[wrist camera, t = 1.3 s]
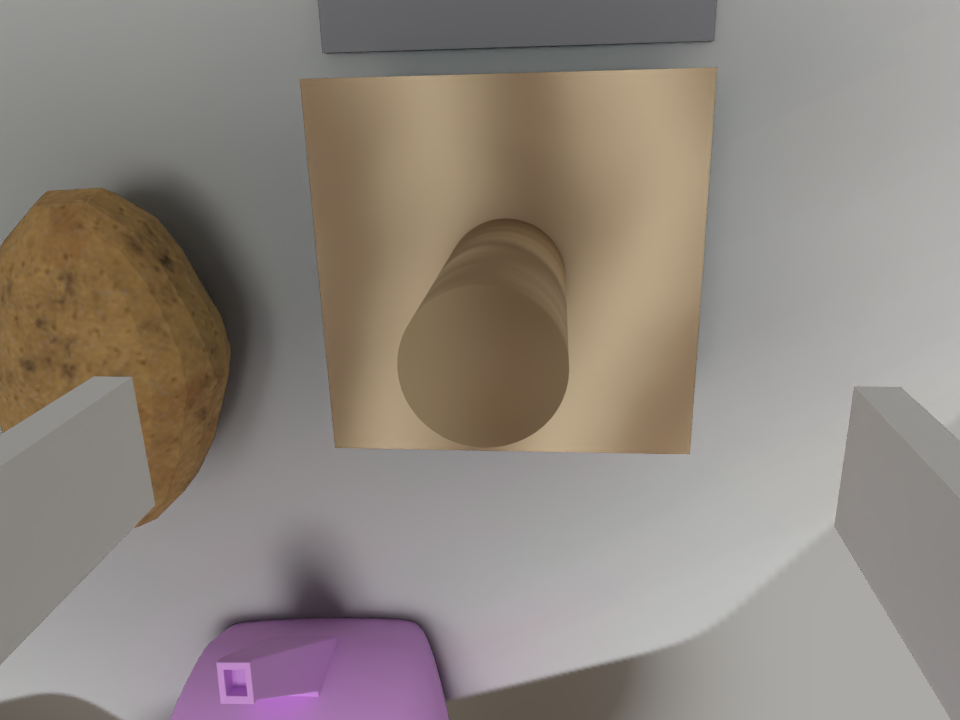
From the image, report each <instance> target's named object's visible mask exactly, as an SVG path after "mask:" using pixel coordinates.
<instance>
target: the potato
mask: <svg viewBox="0 0 960 720" xmlns="http://www.w3.org/2000/svg"><path fill="white" fill-rule="evenodd" d="M230 354H231V347H230V344H229V340H228V337H227V333H226V330H225V327H224V323H223V320H222V317H221V315H220V313H219V311H218V310H217V308H216V306H215V305H214V303H213V301H212V300H211V298H210V296H209V295H208V293H207V292H206V290H205V288H204V287H203V285H202V283H201V282H200V280H199V278H198V276H197V274H196V273H195V271H194V269H193V267H192V266H191V264H190V262H189V260H188V259H187V257H186V255H185V253H184V251H183V250H182V248H181V247H180V246H179V245H178V243H177V242H176V241H175V240H174V239H173V237H172V236H171V235H170V234H169V232H168V231H167V230H166V229H165V228H164V226H163V225H162V224H161V223H160V221H159V220H158V219H157V218H156V217H155V216H153V215H151V214H150V213H148V212H146V211H145V210H143V209H141V208H140V207H138V206H136V205H134V204H133V203H131V202H129V201H128V200H126V199H124V198H123V197H121V196H119V195H118V194H115V193H113V192H110V191H108V190H105V189H103V188H92V189H74V190H57V191H47V192H46V193H45V194H44V195H43V196H42V197H41V198H40V199H39V200H38V201H37V202H36V203H35V204H34V205H33V207H32V208H31V209H30V210H29V211H28V213H27V214H26V215H25V216H24V217H23V219H22V220H21V221H20V222H19V224H18V225H17V226H16V227H15V228H14V230H13V231H12V232H11V233H10V234H9V236H8V237H7V238H6V239H5V240H4V242H3V243H2V245H1V249H0V425H1V429H2V432H3V433H4V432H6V431H7V430H9V429H10V428H12V427H14V426H15V425H17V424H18V423H20V422H22V421H23V420H25V419H26V418H28V417H30V416H31V415H33V414H34V413H36V412H38V411H39V410H41V409H42V408H44V407H46V406H47V405H49V404H50V403H52V402H54V401H55V400H57V399H58V398H60V397H62V396H63V395H65V394H66V393H68V392H70V391H71V390H73V389H74V388H76V387H78V386H79V385H81V384H83V383H84V382H86V381H87V380H89V379H91V378H92V377H94V376H103V377H132V380H133V385H134V391H135V396H136V402H137V407H138V413H139V418H140V423H141V429H142V434H143V440H144V445H145V451H146V456H147V462H148V467H149V473H150V478H151V483H152V489H153V494H154V500H155V506H154V507H153V508H152V509H151V510H150V511H149V512H148V513H147V514H146V515H145V516H144V517H143V518H142V519H141V520H140V521H139V523H138V524H137V525H136V526H135V527H138V526H141V525H143V524H145V523H148V522H150V521H152V520H155V519H157V518H158V517H159V516H160V515H161V514H162V513H163V512H164V511H165V510H166V509H167V508H168V507H169V506H170V505H171V504H172V503H173V502H174V501H175V500H176V499H177V498H178V497H179V496H180V495H181V494H182V493H183V492H184V491H185V489H186V488H187V487H188V485H189V484H190V483H191V481H192V480H193V479H194V477H195V476H196V475H197V473H198V472H199V470H200V468H201V466H202V464H203V461H204V459H205V457H206V455H207V453H208V451H209V448H210V446H211V444H212V442H213V440H214V437H215V433H216V428H217V424H218V420H219V416H220V411H221V407H222V403H223V398H224V394H225V389H226V385H227V380H228V375H229V365H230Z"/></svg>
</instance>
